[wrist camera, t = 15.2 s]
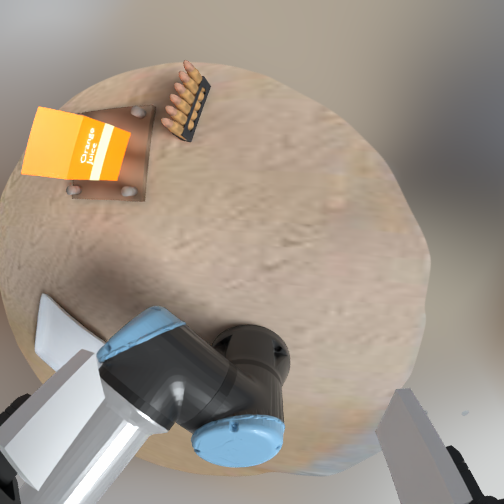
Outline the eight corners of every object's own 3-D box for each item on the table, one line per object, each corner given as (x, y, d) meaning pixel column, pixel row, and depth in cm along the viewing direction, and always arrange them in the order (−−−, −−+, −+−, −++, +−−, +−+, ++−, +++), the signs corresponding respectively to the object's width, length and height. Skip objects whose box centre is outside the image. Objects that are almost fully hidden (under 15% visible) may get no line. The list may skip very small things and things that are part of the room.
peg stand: (144, 201, 46) (133, 202, 41) (76, 198, 46) (62, 199, 42) (155, 107, 42) (145, 100, 38) (85, 114, 43) (72, 109, 38)
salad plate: (40, 347, 56) (33, 353, 52) (49, 287, 51) (40, 291, 48) (99, 394, 57) (93, 402, 53) (118, 341, 52) (111, 348, 49)
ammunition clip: (191, 142, 43) (165, 127, 32) (181, 140, 43) (153, 124, 32) (211, 86, 41) (193, 55, 29) (201, 84, 41) (180, 54, 29)
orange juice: (85, 172, 44) (6, 170, 24) (98, 127, 42) (23, 105, 22) (118, 181, 44) (38, 180, 24) (131, 132, 42) (57, 106, 22)
